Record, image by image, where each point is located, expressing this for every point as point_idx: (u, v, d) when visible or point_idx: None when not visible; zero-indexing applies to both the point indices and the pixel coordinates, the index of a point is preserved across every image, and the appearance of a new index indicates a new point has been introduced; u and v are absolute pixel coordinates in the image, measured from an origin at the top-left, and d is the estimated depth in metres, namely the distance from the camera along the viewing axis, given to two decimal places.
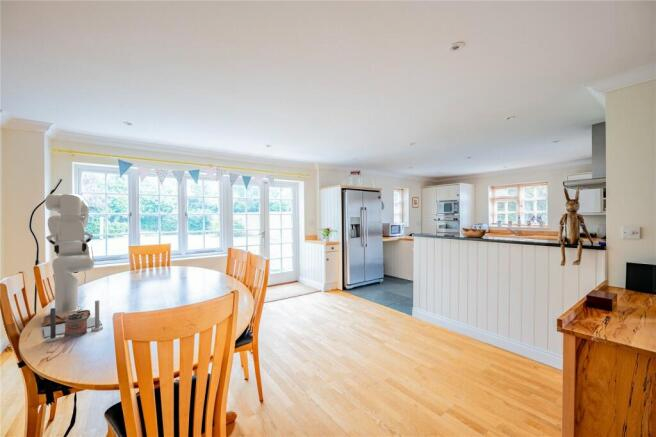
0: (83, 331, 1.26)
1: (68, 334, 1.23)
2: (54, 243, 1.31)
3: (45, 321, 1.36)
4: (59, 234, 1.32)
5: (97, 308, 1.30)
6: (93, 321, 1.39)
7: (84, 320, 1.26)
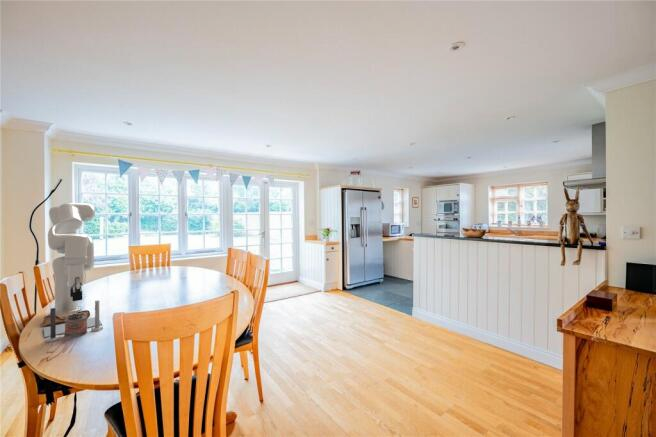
0: (83, 331, 1.26)
1: (68, 334, 1.23)
2: (81, 289, 1.22)
3: (44, 321, 1.35)
4: (83, 278, 1.23)
5: (97, 308, 1.30)
6: (93, 321, 1.39)
7: (84, 320, 1.26)
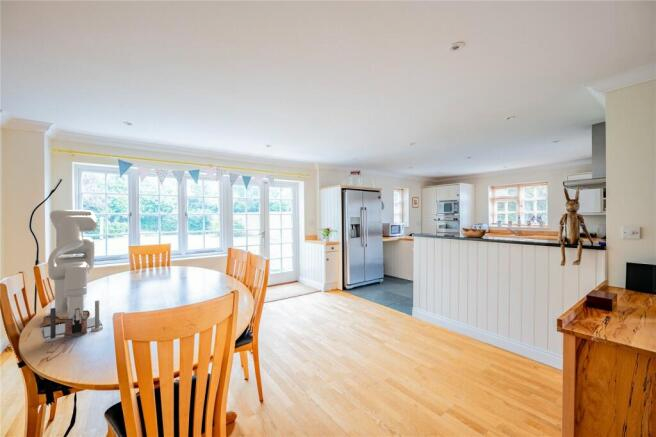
0: (83, 331, 1.26)
1: (68, 334, 1.23)
2: (80, 322, 1.24)
3: (44, 321, 1.35)
4: None
5: (97, 308, 1.30)
6: (93, 321, 1.39)
7: (84, 320, 1.26)
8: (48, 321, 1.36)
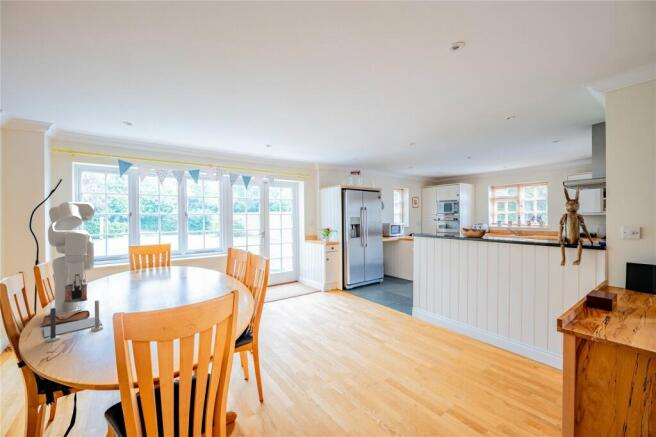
0: (83, 298, 1.26)
1: (68, 300, 1.23)
2: (80, 288, 1.24)
3: (44, 321, 1.35)
4: None
5: (97, 308, 1.30)
6: (93, 321, 1.39)
7: (84, 287, 1.26)
8: (48, 321, 1.36)
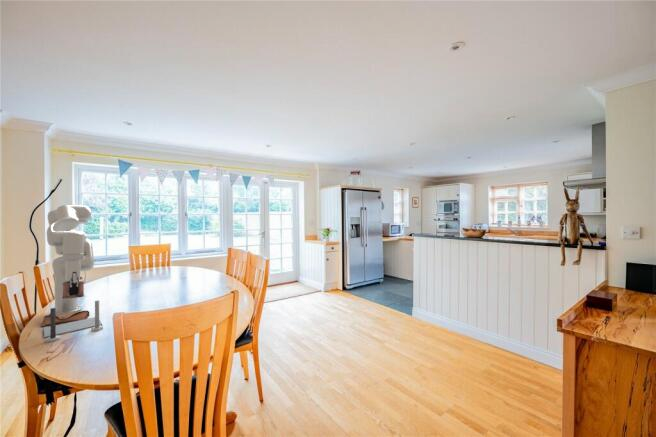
0: (80, 294, 1.33)
1: (66, 296, 1.31)
2: (77, 285, 1.31)
3: (44, 321, 1.36)
4: None
5: (97, 308, 1.30)
6: (93, 321, 1.39)
7: (81, 284, 1.34)
8: (48, 321, 1.36)
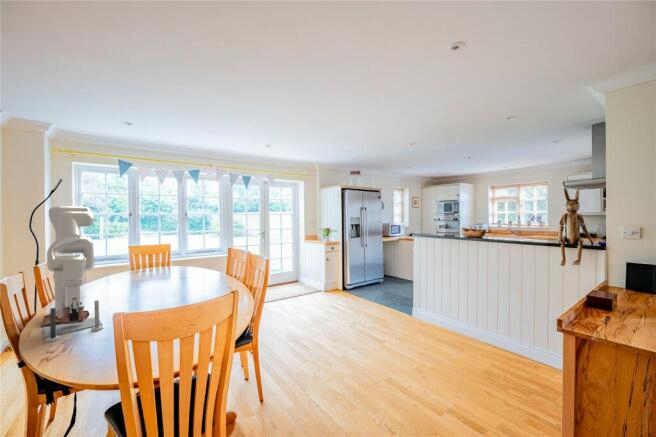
0: (80, 319, 1.34)
1: (66, 322, 1.31)
2: (77, 310, 1.32)
3: (43, 321, 1.36)
4: None
5: (97, 308, 1.30)
6: (93, 321, 1.39)
7: (81, 309, 1.34)
8: (47, 321, 1.36)
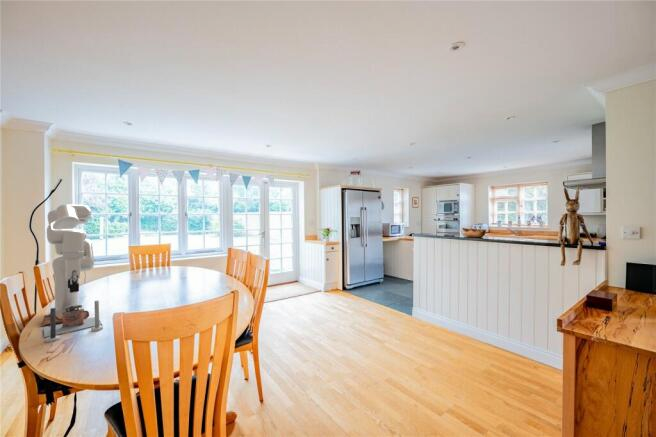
0: (80, 322, 1.34)
1: (66, 325, 1.31)
2: (77, 281, 1.30)
3: (43, 321, 1.36)
4: (79, 271, 1.32)
5: (96, 308, 1.30)
6: (93, 321, 1.39)
7: (81, 312, 1.34)
8: (47, 321, 1.36)
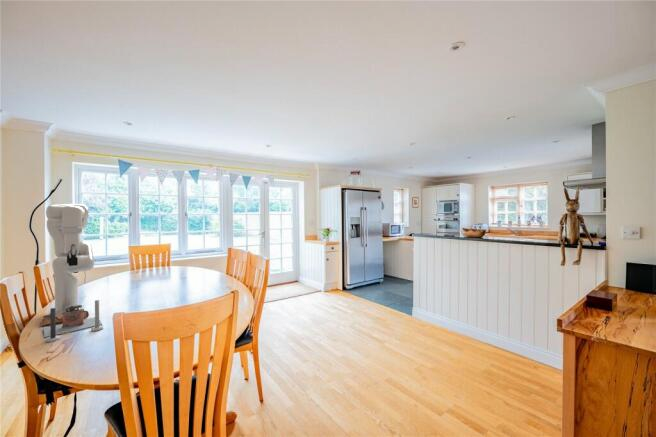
0: (80, 322, 1.34)
1: (66, 325, 1.31)
2: (76, 255, 1.34)
3: (43, 321, 1.36)
4: (78, 246, 1.36)
5: (97, 308, 1.30)
6: (93, 321, 1.39)
7: (81, 312, 1.34)
8: (46, 321, 1.36)
